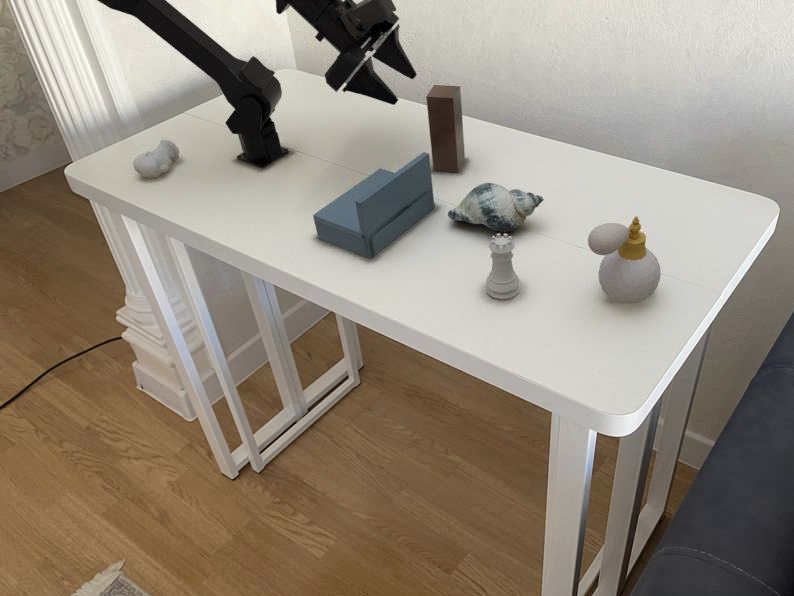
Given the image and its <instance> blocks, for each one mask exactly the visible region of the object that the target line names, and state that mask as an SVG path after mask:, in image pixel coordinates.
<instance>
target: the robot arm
mask: <svg viewBox="0 0 794 596" xmlns="http://www.w3.org/2000/svg"><path fill="white" fill-rule="evenodd" d="M96 1H97V2H98V3H101V4H102V5H103V6H106V7H107V8H109V9H110V10H114V11H116V12H120V13H123V14H127V15H130V16H132V17H134V18H136V19H137V20H138V21H139V22H141V23H143V25H145V26H146V27H147V28H148V29H150V31H152V32H153V33H155V34H156V35H157V36H158V37H160V38H161V39H162V40H163V41H165V42H166V43H167V44H168V45H169V46H171V47H172V48H173V49H174V50H176V51H177V52H178V53H179V54H181V55H182V56H183V57H184V58H186V59H187V60H188V61H190V63H192V64H193V65H195V66H196V67H197V68H198V69H200V70H201V71H202V72H203V73H204V74H206V76H208V77H209V78H211V79H212V80H213V81H215V83H216V84H217V86H218V87H219V88H220V90H221V92H222V95H223V96H224V98H225V99H226V101H227V103H228V104H230V106H231V107H232V108H233V109H234V110H233V111H232V113H230V115H229V117H228V118H227V119H226V121H225V125H226V127H227V128H228V130H229V131H230V132H231V134H233V135H237V136H238V139H239V140H238V141H239V143H240V146H241V150H242V152H241V153H240V154H238V155H236V160H237V161H240V162H243V163H246V164H248V165H252V166H255V167H257V168H261V169H263V168H265V167H268V166H270V165H271V164H272V163H274V162H276V161H277V160H279V159H281V158H283V157H284V156H286V155H287V154H289V153H290V151H289V149H288V148H286V147H283V146H282V145H281V140H280V137H279V133H278V131H277V129H276V124H275V121H273V119H272V118H271V115H272V114H273V113H275V112H276V107H277V105H279V103H280V100H281V99H282V96H283V90H282V85H281V82H280V81H279V79H278V78H277V77H276V76H274V75H275V74H276V71H274V70H272V69H269V68H268V67H266V66H265V65H264V64H263V63H262V62H261V61H260V59H259V58H258V57H256V56H254V55H252V56H251V57H250V58H249V60H248V61H247V60H243V59H240V58H237V57H236V56H234V55H233V54H231V53H230V52H229V50H227V49H226V48H225V47H223V46H222V45H221V44H219V43H218V42H217V41H215V39H213V38H212V37H211V36H209V35H208V34H207V33H206V32H205V31H204V30H203V29H201V28H200V27H199V26H198V25H196V24H195V23H194V22H193V21H191V20H190V19H189V18H188V17H187V16H185V15H184V14H183V13H182V12H180V11H179V10H178V9H177V8H176V7H175V6H174V5H172V4H171V3H170V2H169V1H167V0H96ZM290 8H292V9H293V10H294V11H295V12H296V13H297V14H298V15H299V16H300V17H301V18H303V20H304V21H305V22H307V23H308V24H309V25H310V26H311V27H312V28H313V29H314V30H315V31H316V32H317V33H316V35H315V36H314V38H315V39H316V40H317V41H318V42H319V43H321V42H322V41H323V40H325V41H326V42H328V43H329V45H330V46H332V47H333V48H334V49H335V50H336V51H337V52H338V53H339V54H338V55H337V56H336V59H335V60H334V62H333V63H332V64H331V65H330V66H329V68H328V69H327V71H326V72H325V73H324V78H325V83H326V84H327V85H328V86H329V87H330V88H331V89H332V90H333V91H334V92H335V93H337V92H338V91H339V90H340V89H341V88H342V87H343V85H345V86H344V87H343V88H342V90H341V91H342V92H343V93H346V92H350V93H354V94H358V95H362V96H365V97H367V98H371V99H374V100H378V101H381V102H383V103H387V104H389V105H392V106H394V105H396V104H397V103H398V101H399V98H398V97H397V96H396V94H395V93H394V91H392V89H391V88H390V87H389V86H388V85H387V84H386V83H385V81H383V79H382V78H381V77H380V76H379V75H378V73H376V71H375V69H374V64H373V59H372V58H374V59H376V61H377V60H378V61H379V62H380V63H382V64H384V65H386V66H388V67H389V68H390V69H393V70H394V71H396V72H398V73H400V74H401V75H403V76H405V77H407V78H409V79H411V80H414V79H415V78H416V77H417V71H416V69H415V68H414V67H413V65H412V63H411V61H410V58H409V57H408V55H407V53H406V52H405V50H404V48H403V46H402V44H401V42H400V32H399V31H400V23H398V21H399V20H400V18H399V16H397V14H396V13H395V12H396V11H397V8H396V5H395V4H394V1H393V0H361V1H360V2H357V3H356V2H355V1H354V0H275V11H276V13H277V15H281V14H283V13H284V12H286V11H287V10H288V9H290ZM397 23H398V24H397ZM395 25H396V26H395ZM394 26H395V27H394ZM393 27H394V28H393ZM373 51H374V52H373ZM368 52H370V53H372V52H373V54H372V55H370V56H369V57H368V58H367V59H366V60H365V58H366V57H367V55H366V54H367V53H368Z"/></svg>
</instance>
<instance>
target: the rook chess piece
mask: <svg viewBox="0 0 794 596" xmlns="http://www.w3.org/2000/svg"><path fill="white" fill-rule="evenodd" d="M515 247H516V244H515V242H514V241H513V239H512V235H509V234H508V233H506V232H503V236H502V235H501V232H499V233H495V235H492V236H491V239H490V242H489V243H488V247H487V248H488V249H489V250H490V251H491V253H490V259H491V260H492V264H491V270H490V272H489V273H488V275H487V277H486V280H485V291H486V293H487V294H488V295H489V296H491V297H492V298H493V299H496V300H509V299H512V298H514V297H515V296H516V295H517V294H518V293H519V292H520V290H521V285H520V278H519V276H518V275H517V273H516V271H515V270H514V266H513V258H514V253H513V250H514V249H515Z"/></svg>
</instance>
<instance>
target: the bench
mask: <svg viewBox="0 0 794 596" xmlns="http://www.w3.org/2000/svg"><path fill="white" fill-rule="evenodd" d="M430 159H431V158H430V153H429V152H426V151H423V152H421V153H420V154H419V155H417V156H416V157H415V158H414V159H412V160H410V161H408V162H407V163H406V164H405V165H403V166H402V167H400V168H399V169H398V170H397V171H395V172H393V171H390V170H388V169H384V168H382V167H381V168H378V169H377V170H376V171H374V172H373V173H371V174H369V175H368V176H367V177H365V178H364V179H362V180H361V181H360V182H358V183H357V184H355V185H354V186H352V187H351V188H350V189H348V190H347V191H345V192H344V193H342V194H341V195H339V196H338V197H336V198H335V199H334V200H332V201H330V202H329V203H328V204H327V205H325V206H324V207H322V208H321V209H319V210H318V211H317V212H315V213H313V214H312V217H313V221H314V225H315V230H316V236H317V238H318V239H319V240H321V241H324V242H327V243H329V244H332V245H334V246H336V247H339V248H341V249H345V250H347V251H349V252H352V253H354V254H357V255H359V256H363V257H365V258H368V259H370V260H371V259H373V258H374V257H375V256H376V255H378V254H379V253H380V252H382V251H383V250H385V248H386V247H387V246H389V245H390V244H392V243H393V242H394V241H395V240H396V239H398V238H399V237H401V235H403V234H404V233H405V232H406V231H408V230H409V229H410V228H411V227H413V226H414V225H415V224H416V223H418V222H419V221H420V220H421V219H423V218H424V217H425V216H426V215H427V214H429V213H430V212H431V211H433V210H434V209H435V199H434V197H435V196H434V189H433V179H432V169H431V168H432V167H431V160H430Z"/></svg>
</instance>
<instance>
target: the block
mask: <svg viewBox="0 0 794 596" xmlns="http://www.w3.org/2000/svg"><path fill="white" fill-rule="evenodd" d="M425 98H426V107H427V108H426V109H427V119H428V127H429V128H428V129H429V138H430V148H431V159H432V171H434V172H443V173H456V174H458V173H459V172H460V170H461V169H462V167H463V165H464V163H465V161H466V156H465V155H466V153H465V141H464V140H465V139H464V123H463V110H462V109H463V108H462V93H461V86H460V85H445V84H434V85H433V86H432V88H431V89H430V90H429V92H428V93H427V95H426V97H425Z"/></svg>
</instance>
